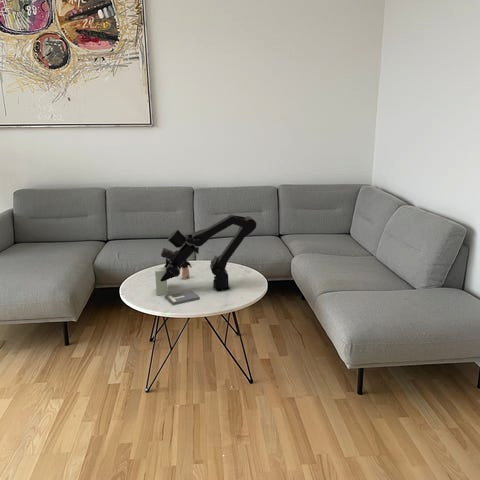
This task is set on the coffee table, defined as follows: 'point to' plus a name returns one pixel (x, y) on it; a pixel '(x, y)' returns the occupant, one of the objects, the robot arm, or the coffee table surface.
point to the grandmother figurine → (185, 270)
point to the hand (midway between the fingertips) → (160, 277)
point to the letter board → (182, 297)
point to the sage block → (160, 286)
